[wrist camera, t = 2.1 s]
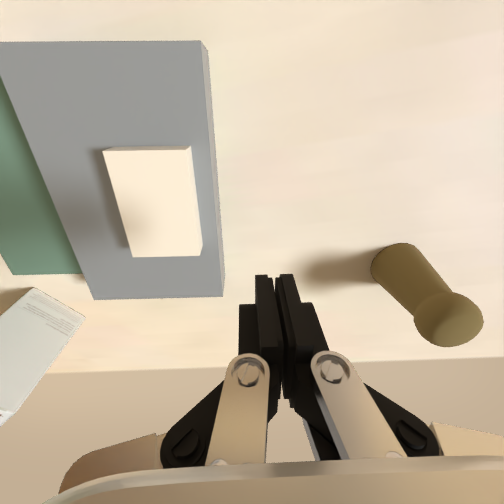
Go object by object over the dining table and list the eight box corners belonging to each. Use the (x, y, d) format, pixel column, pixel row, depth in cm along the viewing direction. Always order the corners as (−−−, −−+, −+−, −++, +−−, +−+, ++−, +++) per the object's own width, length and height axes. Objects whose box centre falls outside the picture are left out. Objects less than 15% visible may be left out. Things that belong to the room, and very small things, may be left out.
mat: (-105, 68, 21) (-109, 68, 20) (22, 67, 21) (20, 67, 20) (15, 273, 31) (13, 275, 30) (99, 271, 31) (98, 273, 31)
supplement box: (33, 284, 32) (-78, 381, 21) (88, 317, 35) (16, 416, 24) (6, 315, 34) (-106, 416, 23) (60, 342, 37) (-17, 444, 26)
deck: (30, 52, 20) (-14, 41, 17) (208, 50, 21) (200, 40, 17) (110, 278, 31) (94, 299, 28) (225, 275, 32) (222, 296, 28)
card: (114, 146, 20) (102, 151, 18) (190, 145, 20) (185, 149, 19) (140, 246, 25) (132, 257, 23) (202, 245, 25) (199, 255, 23)
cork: (375, 290, 34) (427, 364, 24) (365, 255, 31) (420, 323, 21) (423, 273, 32) (498, 344, 23) (417, 235, 30) (499, 298, 20)
